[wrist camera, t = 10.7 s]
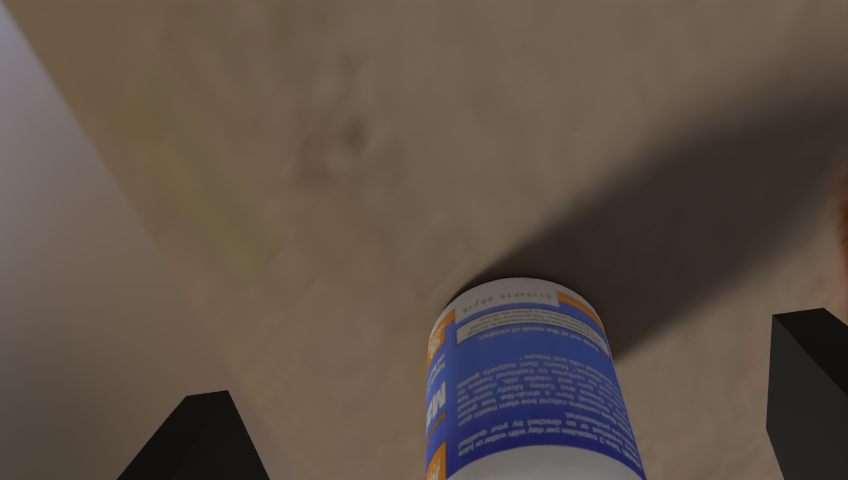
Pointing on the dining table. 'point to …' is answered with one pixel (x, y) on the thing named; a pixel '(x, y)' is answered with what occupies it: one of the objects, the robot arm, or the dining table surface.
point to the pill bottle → (525, 389)
